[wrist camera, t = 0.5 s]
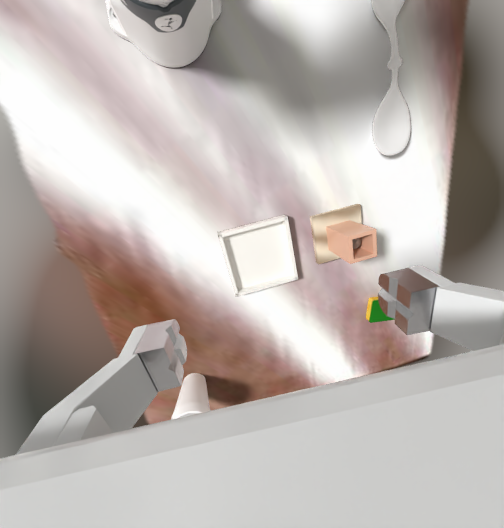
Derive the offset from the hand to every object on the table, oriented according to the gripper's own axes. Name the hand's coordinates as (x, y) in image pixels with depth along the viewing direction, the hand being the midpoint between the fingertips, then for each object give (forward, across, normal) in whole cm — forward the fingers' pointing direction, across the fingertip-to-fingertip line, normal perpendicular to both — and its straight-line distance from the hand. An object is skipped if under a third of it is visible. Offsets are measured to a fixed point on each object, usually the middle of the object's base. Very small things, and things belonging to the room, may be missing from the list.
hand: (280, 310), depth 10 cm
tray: (+46, -2, +17) cm, 49 cm away
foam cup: (+43, +23, +50) cm, 69 cm away
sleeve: (+46, -22, +16) cm, 54 cm away
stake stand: (+48, -22, +16) cm, 55 cm away
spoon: (+50, -35, -15) cm, 63 cm away
